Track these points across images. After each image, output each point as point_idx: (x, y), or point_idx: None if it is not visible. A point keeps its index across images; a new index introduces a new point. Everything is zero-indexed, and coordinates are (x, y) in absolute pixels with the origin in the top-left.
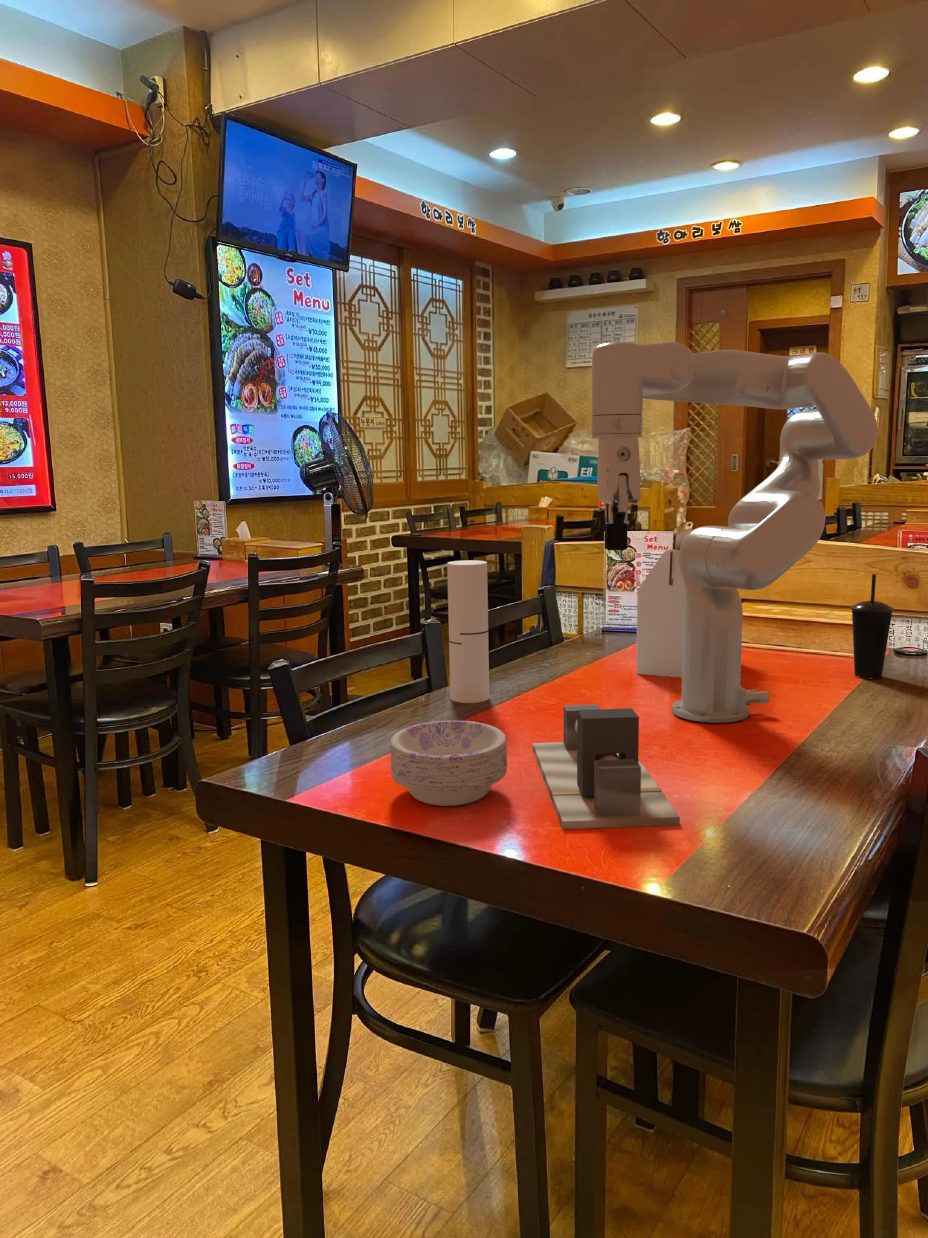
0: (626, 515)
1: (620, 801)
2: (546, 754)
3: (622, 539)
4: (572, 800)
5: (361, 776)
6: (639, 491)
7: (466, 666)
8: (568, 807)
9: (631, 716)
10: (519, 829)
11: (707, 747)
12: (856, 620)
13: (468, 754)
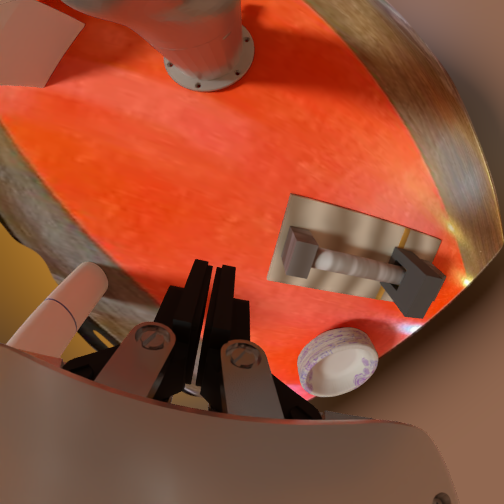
0: (269, 383)
1: None
2: (302, 278)
3: (248, 310)
4: None
5: None
6: (449, 474)
7: (92, 306)
8: None
9: (439, 284)
10: (396, 321)
11: (321, 117)
12: None
13: (375, 365)
